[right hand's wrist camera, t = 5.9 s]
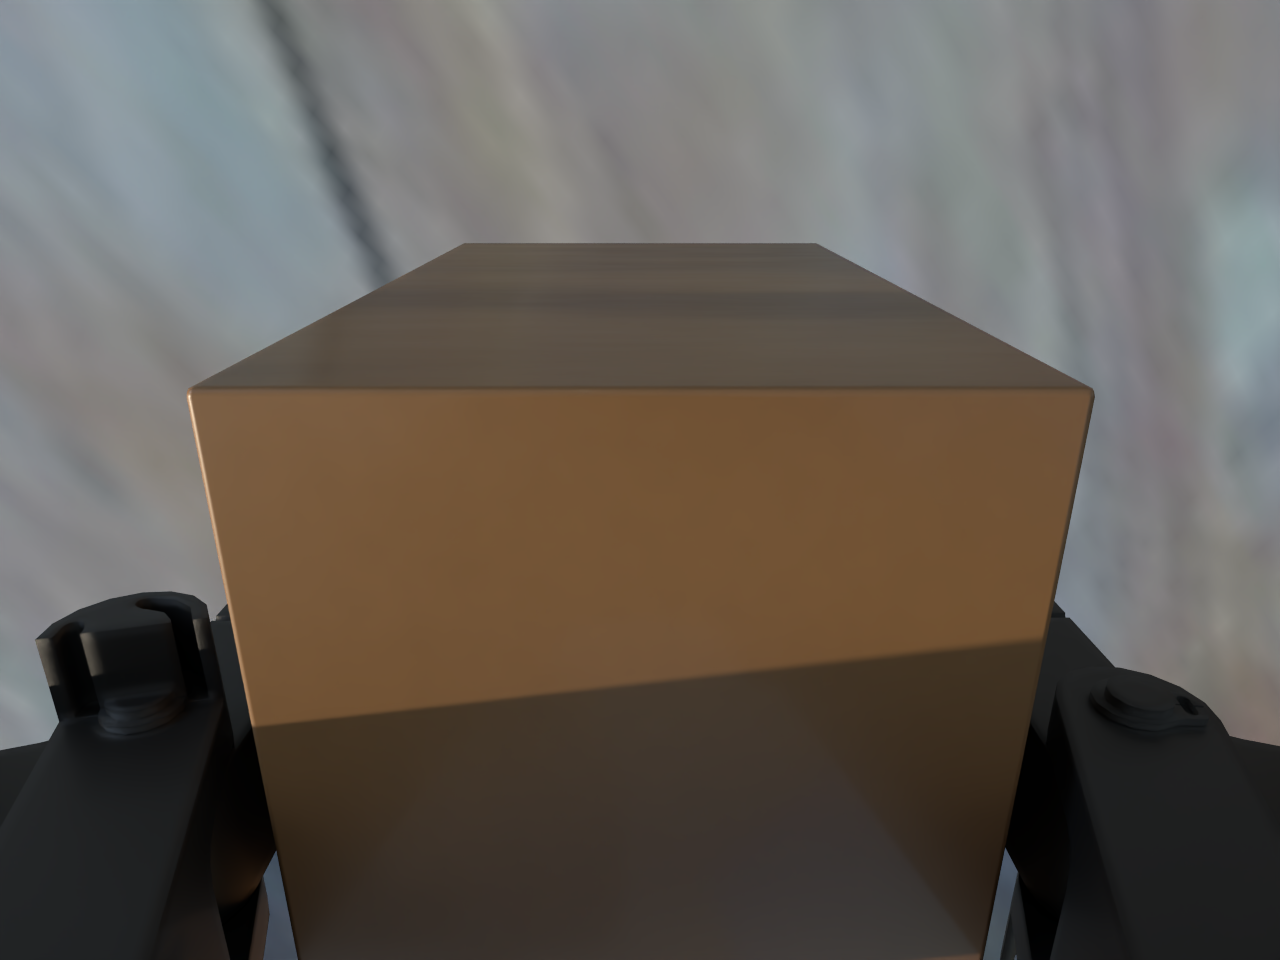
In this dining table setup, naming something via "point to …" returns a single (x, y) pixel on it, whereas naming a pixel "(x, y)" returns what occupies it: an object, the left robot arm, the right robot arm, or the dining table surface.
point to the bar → (640, 604)
